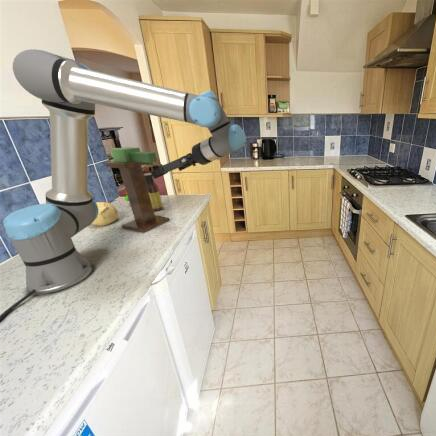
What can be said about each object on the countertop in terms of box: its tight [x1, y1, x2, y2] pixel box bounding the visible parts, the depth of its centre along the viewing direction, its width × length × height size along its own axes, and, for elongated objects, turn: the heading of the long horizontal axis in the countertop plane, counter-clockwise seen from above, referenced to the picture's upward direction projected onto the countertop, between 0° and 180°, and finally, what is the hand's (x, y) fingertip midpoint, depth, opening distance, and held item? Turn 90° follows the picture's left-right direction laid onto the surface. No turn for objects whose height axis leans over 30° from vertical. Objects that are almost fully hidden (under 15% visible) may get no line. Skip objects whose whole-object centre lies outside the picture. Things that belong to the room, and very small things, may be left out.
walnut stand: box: [105, 160, 170, 233], centre depth 109 cm, size 14×14×30 cm
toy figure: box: [110, 146, 158, 164], centre depth 101 cm, size 7×23×5 cm, turn 68°
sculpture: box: [91, 201, 119, 227], centre depth 116 cm, size 12×12×11 cm
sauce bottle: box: [143, 172, 164, 212], centre depth 129 cm, size 6×6×20 cm
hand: (166, 171), depth 95 cm, fingers open, 13 cm apart
